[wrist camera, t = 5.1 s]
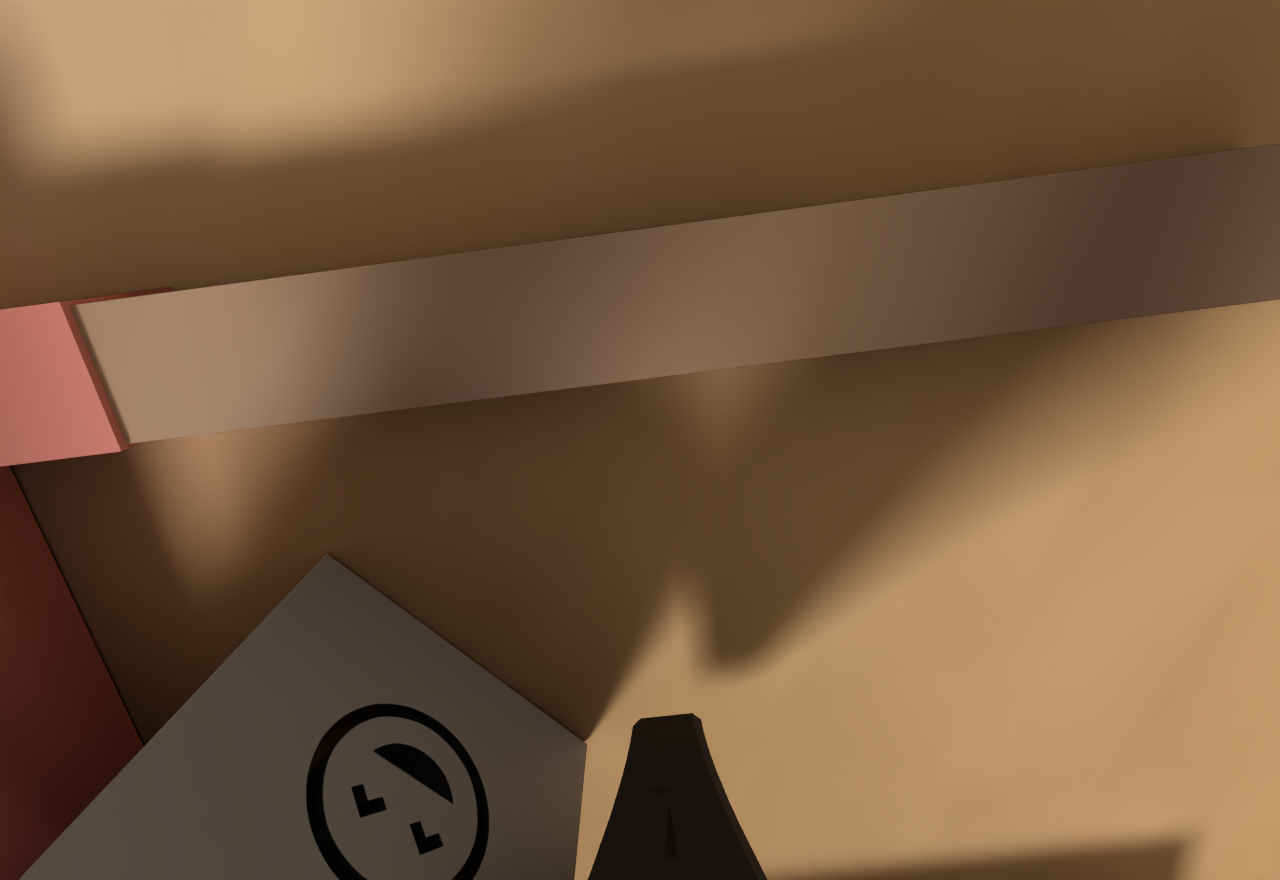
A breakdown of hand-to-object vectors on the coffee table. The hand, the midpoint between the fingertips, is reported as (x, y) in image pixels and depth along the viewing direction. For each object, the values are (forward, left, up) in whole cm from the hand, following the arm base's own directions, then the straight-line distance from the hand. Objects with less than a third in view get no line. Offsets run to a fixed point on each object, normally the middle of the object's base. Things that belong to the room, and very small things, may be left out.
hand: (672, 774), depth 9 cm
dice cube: (+5, 0, -2) cm, 5 cm away
